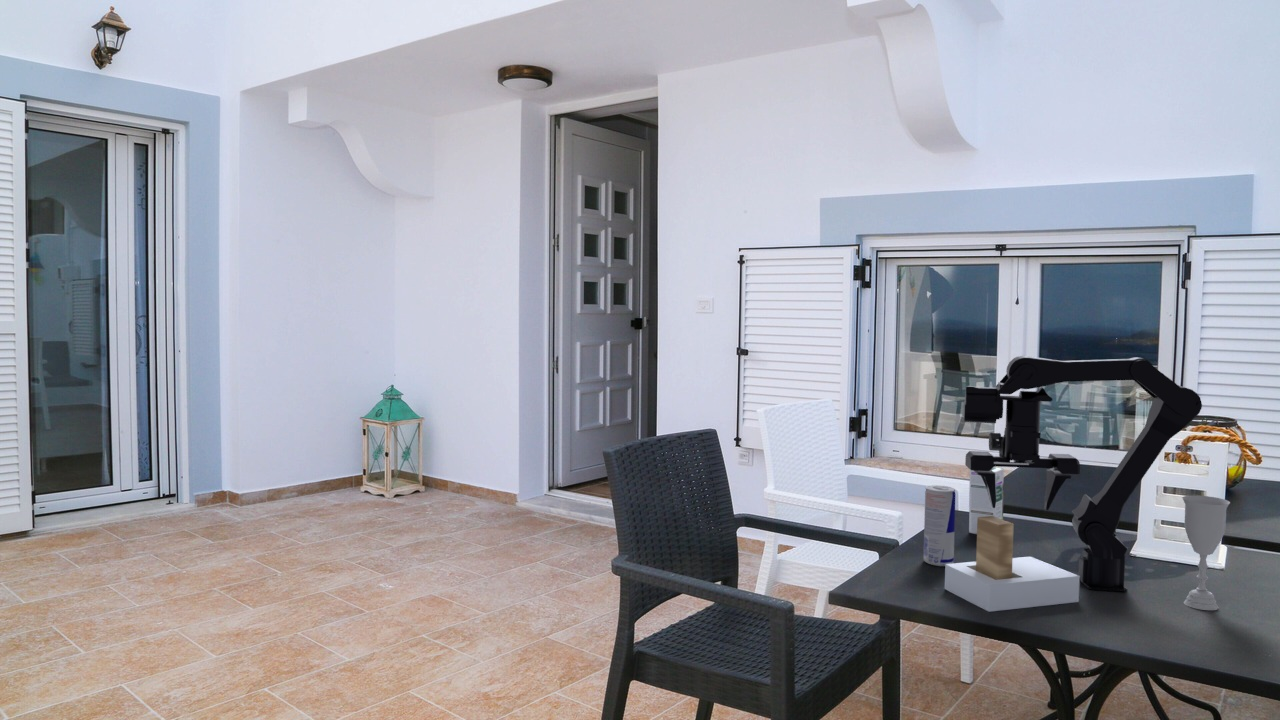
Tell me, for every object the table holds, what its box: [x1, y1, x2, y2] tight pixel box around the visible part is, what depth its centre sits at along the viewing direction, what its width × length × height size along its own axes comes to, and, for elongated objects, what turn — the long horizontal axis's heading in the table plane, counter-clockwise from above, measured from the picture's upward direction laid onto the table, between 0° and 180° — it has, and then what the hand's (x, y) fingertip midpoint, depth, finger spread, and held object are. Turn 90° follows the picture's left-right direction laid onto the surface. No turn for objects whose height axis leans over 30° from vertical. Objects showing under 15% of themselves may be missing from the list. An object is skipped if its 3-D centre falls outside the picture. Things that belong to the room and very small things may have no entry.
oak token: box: [975, 516, 1015, 580], centre depth 153 cm, size 3×6×13 cm, turn 17°
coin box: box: [944, 556, 1080, 613], centre depth 154 cm, size 18×12×4 cm, turn 106°
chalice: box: [1181, 495, 1231, 611], centre depth 149 cm, size 7×7×18 cm
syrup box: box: [968, 466, 1005, 535], centre depth 196 cm, size 6×6×14 cm
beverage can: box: [923, 485, 956, 567], centre depth 173 cm, size 6×6×15 cm
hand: (1019, 508), depth 163 cm, fingers open, 9 cm apart
